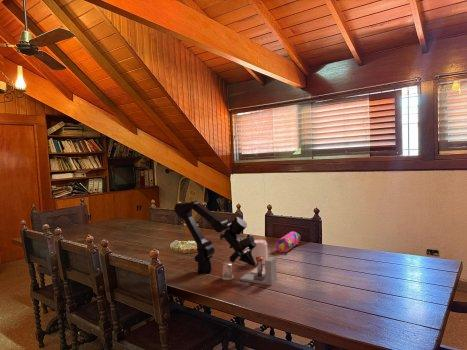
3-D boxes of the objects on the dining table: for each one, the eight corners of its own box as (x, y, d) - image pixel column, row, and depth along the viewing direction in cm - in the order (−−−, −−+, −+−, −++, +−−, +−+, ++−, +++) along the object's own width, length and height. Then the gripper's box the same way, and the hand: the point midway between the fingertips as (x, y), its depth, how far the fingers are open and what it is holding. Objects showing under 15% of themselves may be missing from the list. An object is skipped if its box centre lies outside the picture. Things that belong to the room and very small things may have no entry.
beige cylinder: (255, 266, 176) (254, 243, 175) (250, 261, 184) (250, 240, 183) (269, 264, 178) (269, 242, 178) (264, 259, 186) (263, 238, 185)
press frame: (240, 280, 157) (239, 257, 157) (255, 268, 172) (254, 248, 171) (271, 285, 149) (270, 261, 149) (284, 273, 164) (284, 251, 163)
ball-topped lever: (253, 278, 155) (252, 258, 154) (257, 275, 159) (256, 255, 158) (263, 280, 152) (262, 259, 152) (267, 277, 156) (266, 256, 156)
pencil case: (290, 254, 194) (289, 239, 194) (275, 252, 199) (274, 237, 198) (301, 244, 213) (301, 230, 212) (287, 243, 218) (287, 229, 217)
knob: (221, 280, 158) (220, 266, 157) (221, 276, 164) (221, 262, 163) (233, 280, 158) (233, 265, 158) (233, 275, 164) (232, 261, 163)
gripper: (234, 234, 150) (257, 261, 145) (252, 225, 166) (273, 249, 161) (220, 249, 154) (241, 276, 150) (239, 239, 171) (259, 263, 166)
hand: (255, 265), depth 156 cm, fingers closed
